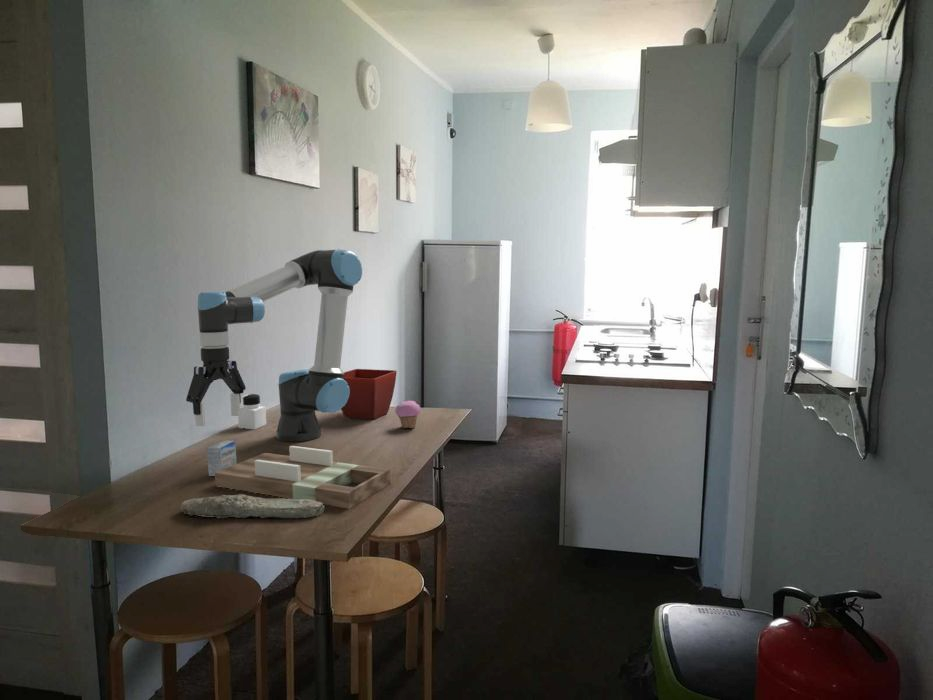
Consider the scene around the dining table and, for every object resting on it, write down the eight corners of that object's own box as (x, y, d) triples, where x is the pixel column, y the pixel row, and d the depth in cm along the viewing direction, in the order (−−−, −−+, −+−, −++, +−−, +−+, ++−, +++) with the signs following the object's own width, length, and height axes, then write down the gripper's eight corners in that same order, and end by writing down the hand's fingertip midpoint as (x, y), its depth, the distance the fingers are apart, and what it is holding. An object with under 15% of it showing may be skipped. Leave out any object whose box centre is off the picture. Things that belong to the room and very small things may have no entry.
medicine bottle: (266, 425, 248) (265, 393, 246) (254, 429, 241) (253, 397, 240) (250, 423, 250) (248, 392, 249) (238, 428, 244) (236, 396, 242)
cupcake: (421, 424, 245) (420, 398, 244) (420, 430, 237) (419, 403, 235) (396, 425, 245) (396, 398, 244) (395, 431, 236) (394, 403, 235)
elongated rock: (317, 528, 155) (328, 514, 165) (318, 506, 155) (329, 493, 165) (171, 519, 157) (191, 506, 167) (171, 497, 157) (191, 485, 167)
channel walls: (292, 459, 191) (291, 445, 190) (333, 464, 185) (332, 450, 185) (255, 475, 177) (254, 460, 176) (298, 481, 171) (297, 466, 171)
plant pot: (331, 419, 256) (329, 376, 253) (357, 408, 273) (355, 368, 271) (375, 423, 249) (373, 378, 246) (399, 412, 266) (397, 370, 264)
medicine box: (222, 477, 188) (220, 448, 187) (208, 477, 189) (206, 447, 188) (237, 469, 196) (235, 440, 194) (223, 468, 196) (221, 440, 195)
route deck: (265, 465, 198) (265, 452, 198) (390, 483, 181) (390, 469, 180) (215, 486, 180) (214, 472, 180) (349, 508, 163) (348, 493, 162)
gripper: (236, 341, 200) (239, 410, 203) (168, 351, 177) (173, 429, 180) (255, 342, 197) (259, 412, 200) (189, 352, 174) (194, 431, 177)
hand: (218, 420), depth 190 cm, fingers open, 13 cm apart
